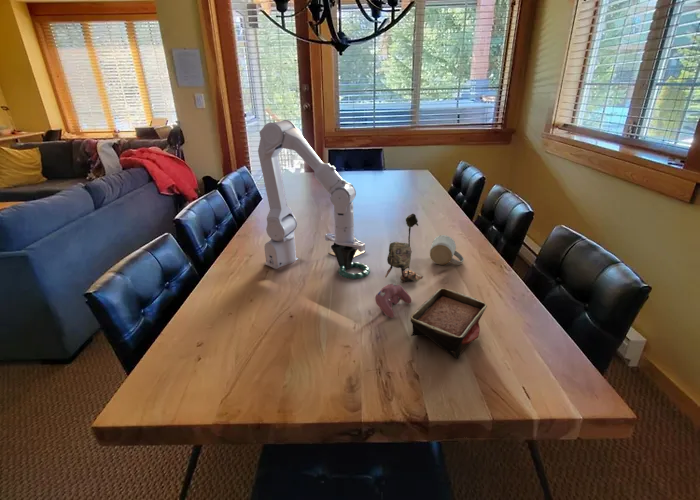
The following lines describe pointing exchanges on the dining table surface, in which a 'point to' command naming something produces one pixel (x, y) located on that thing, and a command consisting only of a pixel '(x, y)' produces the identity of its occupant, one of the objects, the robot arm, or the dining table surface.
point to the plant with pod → (403, 255)
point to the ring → (357, 275)
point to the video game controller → (391, 298)
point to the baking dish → (449, 320)
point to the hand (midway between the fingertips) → (345, 266)
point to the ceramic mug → (444, 251)
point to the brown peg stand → (354, 255)
